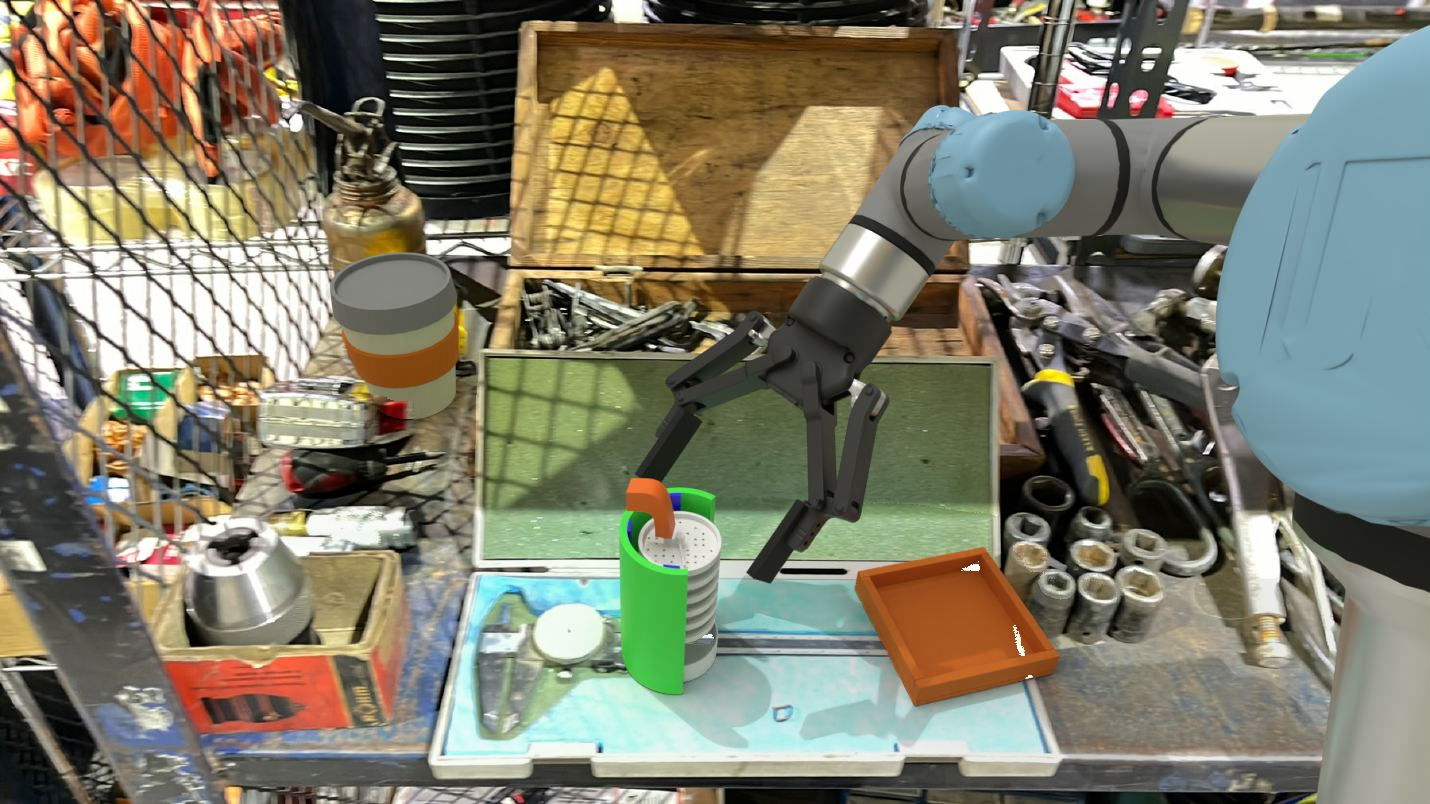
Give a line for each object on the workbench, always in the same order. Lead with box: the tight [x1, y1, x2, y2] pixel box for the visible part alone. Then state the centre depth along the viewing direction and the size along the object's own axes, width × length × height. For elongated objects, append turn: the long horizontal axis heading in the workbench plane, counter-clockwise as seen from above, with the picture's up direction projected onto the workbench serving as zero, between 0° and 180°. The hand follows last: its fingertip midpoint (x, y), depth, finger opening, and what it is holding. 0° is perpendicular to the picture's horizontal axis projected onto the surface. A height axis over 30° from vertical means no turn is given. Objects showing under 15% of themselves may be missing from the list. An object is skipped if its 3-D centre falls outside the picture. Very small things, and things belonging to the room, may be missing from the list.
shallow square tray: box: [854, 546, 1061, 707], centre depth 78 cm, size 13×13×2 cm
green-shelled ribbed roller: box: [618, 477, 722, 695], centre depth 71 cm, size 9×8×18 cm
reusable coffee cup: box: [329, 251, 460, 421], centre depth 99 cm, size 13×13×15 cm
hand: (699, 526), depth 71 cm, fingers open, 13 cm apart
